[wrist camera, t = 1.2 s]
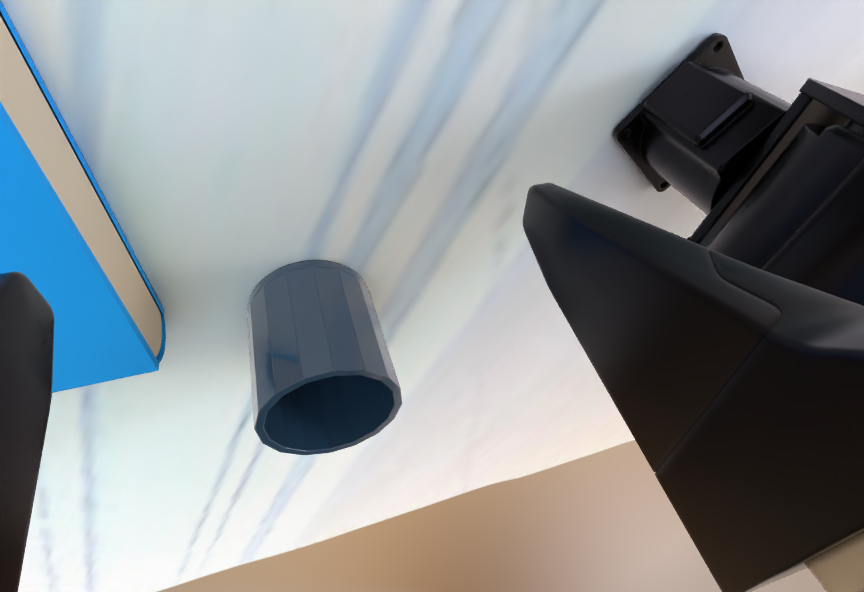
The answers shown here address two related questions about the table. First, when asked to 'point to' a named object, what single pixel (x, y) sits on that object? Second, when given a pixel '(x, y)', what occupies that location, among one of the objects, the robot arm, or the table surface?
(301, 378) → the cup
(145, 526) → the table surface
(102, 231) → the book
